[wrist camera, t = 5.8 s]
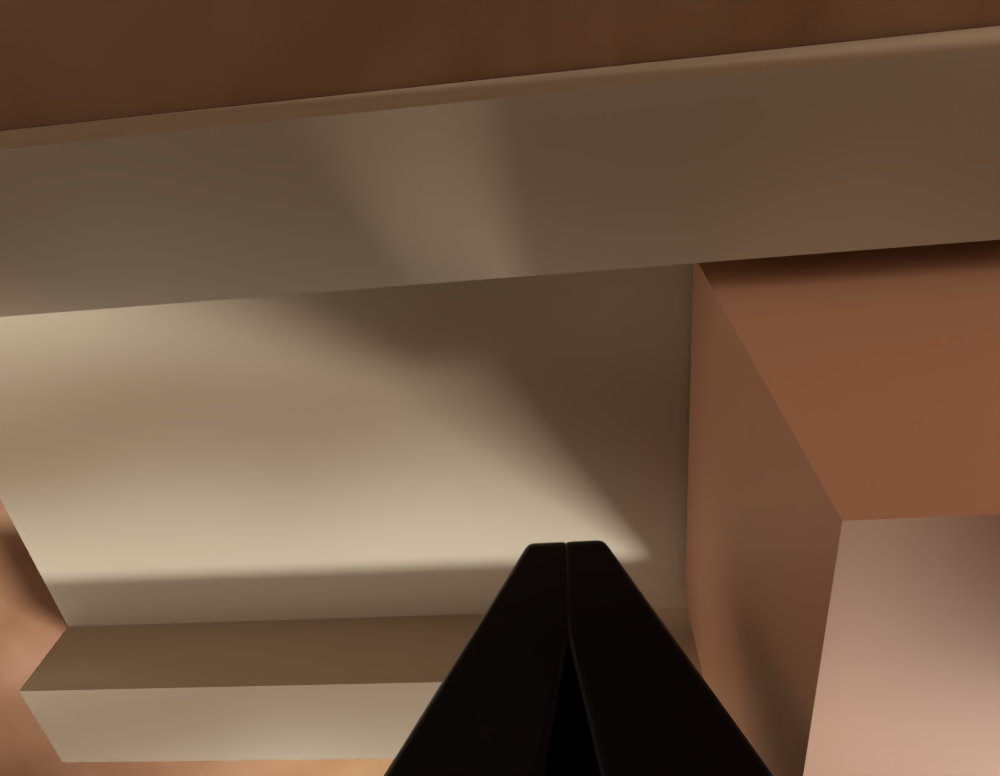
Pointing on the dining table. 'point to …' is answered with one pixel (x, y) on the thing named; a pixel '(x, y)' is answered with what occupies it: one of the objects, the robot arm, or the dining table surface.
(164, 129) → the chute
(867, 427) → the block
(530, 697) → the robot arm
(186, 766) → the dining table surface
